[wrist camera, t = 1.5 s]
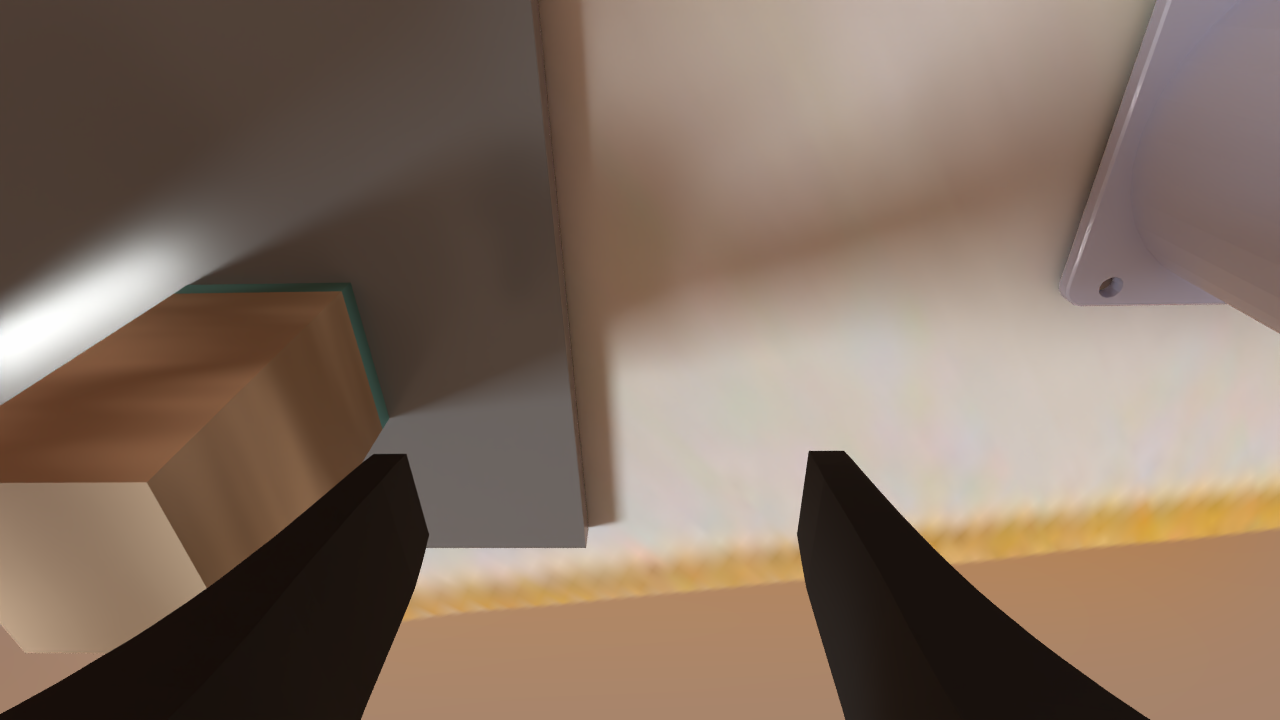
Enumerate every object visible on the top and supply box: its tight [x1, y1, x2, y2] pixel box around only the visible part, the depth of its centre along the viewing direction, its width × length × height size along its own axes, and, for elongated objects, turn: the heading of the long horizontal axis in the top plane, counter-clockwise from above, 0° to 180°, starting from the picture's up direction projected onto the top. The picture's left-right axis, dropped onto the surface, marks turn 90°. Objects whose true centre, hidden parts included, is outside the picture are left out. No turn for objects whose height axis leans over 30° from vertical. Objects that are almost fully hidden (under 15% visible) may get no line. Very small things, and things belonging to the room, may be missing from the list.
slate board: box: [0, 0, 588, 548], centre depth 16 cm, size 18×16×1 cm
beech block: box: [0, 283, 389, 653], centre depth 13 cm, size 4×4×7 cm
